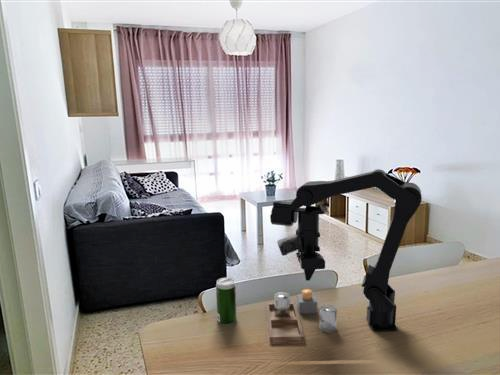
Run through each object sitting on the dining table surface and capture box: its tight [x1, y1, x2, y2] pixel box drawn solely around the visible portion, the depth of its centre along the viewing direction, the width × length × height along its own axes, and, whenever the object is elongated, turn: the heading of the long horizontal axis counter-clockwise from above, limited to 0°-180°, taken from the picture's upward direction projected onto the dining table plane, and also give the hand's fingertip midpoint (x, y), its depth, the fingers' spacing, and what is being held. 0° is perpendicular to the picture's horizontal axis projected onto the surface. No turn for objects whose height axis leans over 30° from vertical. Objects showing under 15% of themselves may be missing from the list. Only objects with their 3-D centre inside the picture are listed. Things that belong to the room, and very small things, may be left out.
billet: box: [318, 304, 338, 334], centre depth 102 cm, size 4×4×6 cm
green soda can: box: [215, 277, 238, 326], centre depth 106 cm, size 5×5×12 cm
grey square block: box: [296, 293, 318, 315], centre depth 112 cm, size 5×5×4 cm
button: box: [301, 288, 313, 301], centre depth 111 cm, size 3×3×2 cm
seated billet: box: [273, 291, 291, 317], centre depth 108 cm, size 4×4×6 cm
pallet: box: [265, 301, 306, 345], centre depth 105 cm, size 9×18×2 cm, turn 0°
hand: (307, 280), depth 110 cm, fingers closed
